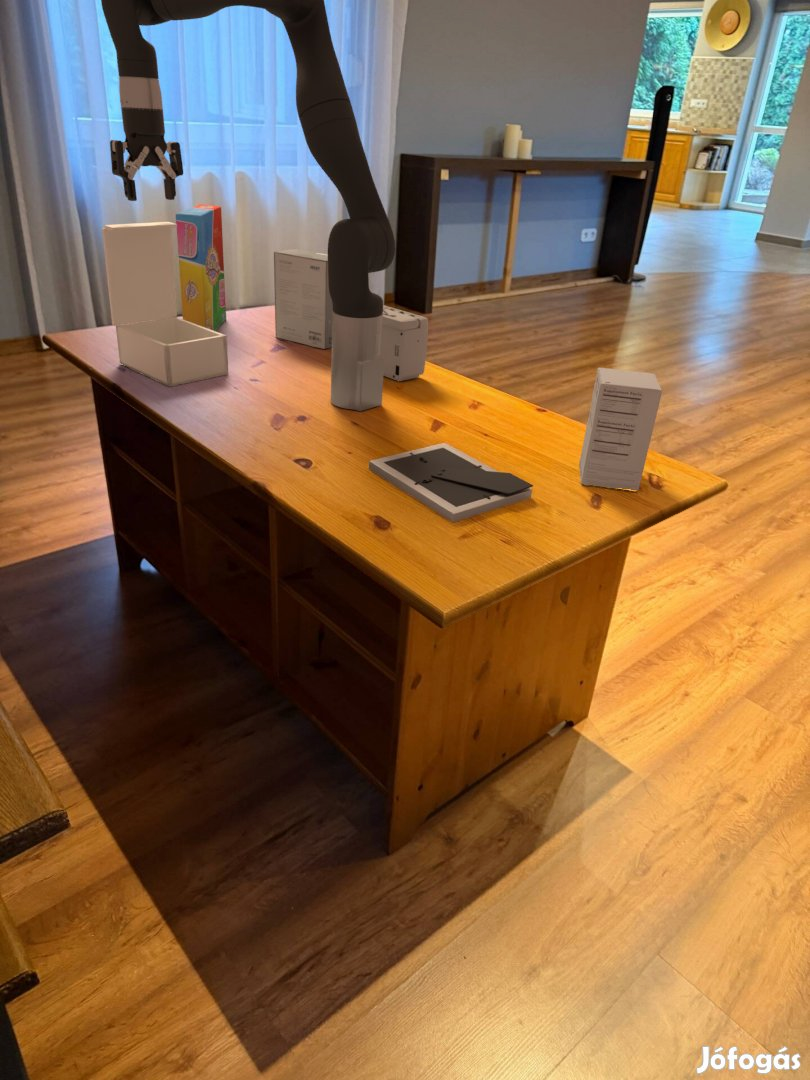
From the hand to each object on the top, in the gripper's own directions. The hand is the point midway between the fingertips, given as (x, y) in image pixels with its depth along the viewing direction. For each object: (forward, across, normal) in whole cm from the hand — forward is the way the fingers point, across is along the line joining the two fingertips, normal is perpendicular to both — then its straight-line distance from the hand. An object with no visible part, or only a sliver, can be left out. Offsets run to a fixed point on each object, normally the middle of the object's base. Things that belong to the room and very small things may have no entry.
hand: (151, 200), depth 151 cm
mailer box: (+31, -4, -9) cm, 33 cm away
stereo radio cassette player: (+32, +30, -34) cm, 56 cm away
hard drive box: (+32, +34, -9) cm, 47 cm away
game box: (+31, +20, +14) cm, 39 cm away
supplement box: (+34, +18, -97) cm, 105 cm away
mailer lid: (+14, -4, -3) cm, 15 cm away
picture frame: (+34, -4, -81) cm, 88 cm away
